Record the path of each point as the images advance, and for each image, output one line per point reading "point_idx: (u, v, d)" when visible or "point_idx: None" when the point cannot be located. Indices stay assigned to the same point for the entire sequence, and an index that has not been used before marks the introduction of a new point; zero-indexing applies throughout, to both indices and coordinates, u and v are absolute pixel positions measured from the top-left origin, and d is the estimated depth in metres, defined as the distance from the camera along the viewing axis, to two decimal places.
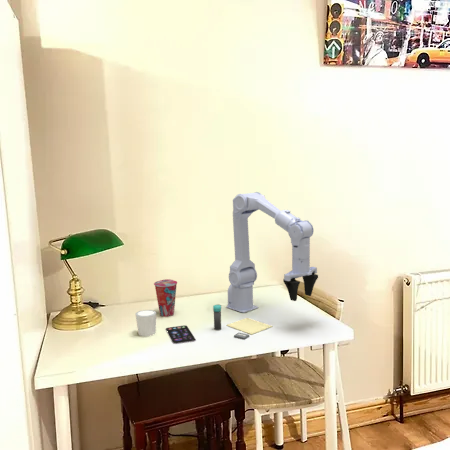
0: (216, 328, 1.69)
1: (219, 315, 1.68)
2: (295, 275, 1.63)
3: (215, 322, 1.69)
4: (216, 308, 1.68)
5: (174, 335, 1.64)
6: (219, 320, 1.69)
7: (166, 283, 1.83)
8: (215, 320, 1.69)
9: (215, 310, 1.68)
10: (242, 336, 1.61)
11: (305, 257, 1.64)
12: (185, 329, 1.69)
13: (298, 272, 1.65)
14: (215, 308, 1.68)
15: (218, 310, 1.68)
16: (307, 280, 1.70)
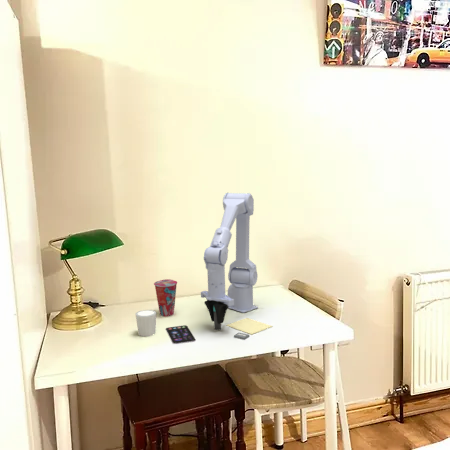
0: (216, 328, 1.69)
1: None
2: (204, 294, 1.71)
3: (215, 322, 1.69)
4: None
5: (174, 335, 1.64)
6: None
7: (166, 283, 1.83)
8: (215, 320, 1.69)
9: None
10: (242, 336, 1.61)
11: (210, 282, 1.65)
12: (185, 329, 1.69)
13: None
14: None
15: None
16: None
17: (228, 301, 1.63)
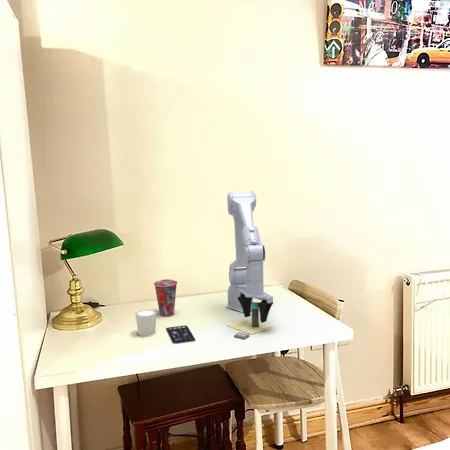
0: (254, 325, 1.70)
1: (257, 312, 1.69)
2: (242, 292, 1.71)
3: (253, 319, 1.69)
4: (254, 305, 1.68)
5: (174, 335, 1.64)
6: (257, 317, 1.69)
7: (166, 283, 1.83)
8: (253, 317, 1.69)
9: (253, 307, 1.69)
10: (242, 336, 1.61)
11: (253, 280, 1.65)
12: (185, 329, 1.69)
13: None
14: (253, 305, 1.69)
15: (256, 307, 1.69)
16: None
17: (267, 298, 1.63)
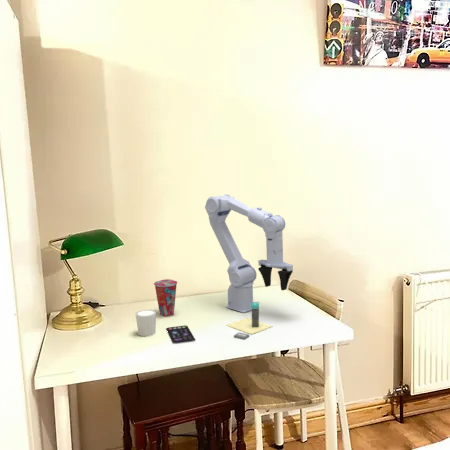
0: (254, 325, 1.70)
1: (257, 312, 1.69)
2: (262, 262, 1.81)
3: (253, 319, 1.69)
4: (254, 305, 1.68)
5: (174, 335, 1.64)
6: (257, 317, 1.69)
7: (166, 283, 1.83)
8: (253, 317, 1.69)
9: (253, 307, 1.69)
10: (242, 336, 1.61)
11: (279, 249, 1.75)
12: (185, 329, 1.69)
13: None
14: (253, 305, 1.68)
15: (256, 307, 1.69)
16: None
17: (287, 266, 1.73)
